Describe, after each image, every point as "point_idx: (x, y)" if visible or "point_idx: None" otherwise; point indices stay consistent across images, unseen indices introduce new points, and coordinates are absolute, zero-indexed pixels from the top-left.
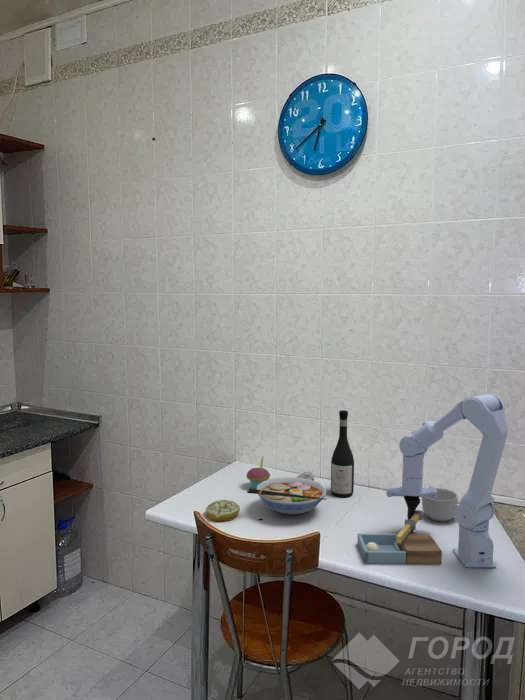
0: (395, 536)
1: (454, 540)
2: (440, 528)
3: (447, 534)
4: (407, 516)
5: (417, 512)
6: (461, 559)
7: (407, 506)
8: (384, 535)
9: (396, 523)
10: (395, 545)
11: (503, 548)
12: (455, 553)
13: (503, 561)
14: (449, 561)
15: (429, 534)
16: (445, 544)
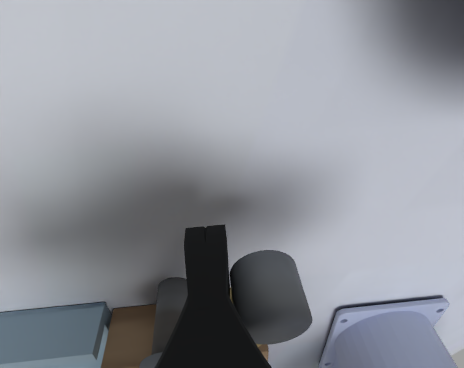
0: (95, 353)
1: (402, 246)
2: (427, 129)
3: (412, 198)
4: (185, 238)
5: (262, 333)
6: (327, 355)
7: (180, 322)
8: (36, 364)
9: (111, 69)
10: (103, 342)
11: None
12: (331, 330)
13: (457, 329)
14: (287, 350)
15: (265, 356)
16: (336, 277)
